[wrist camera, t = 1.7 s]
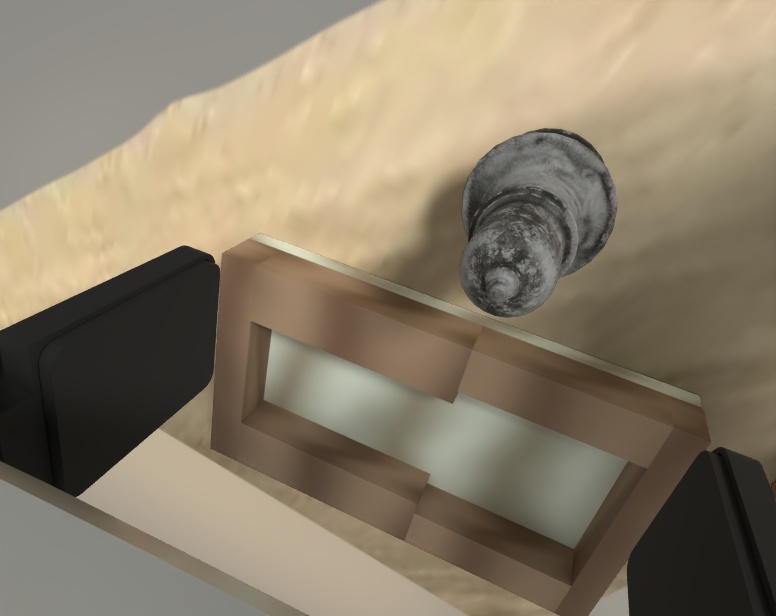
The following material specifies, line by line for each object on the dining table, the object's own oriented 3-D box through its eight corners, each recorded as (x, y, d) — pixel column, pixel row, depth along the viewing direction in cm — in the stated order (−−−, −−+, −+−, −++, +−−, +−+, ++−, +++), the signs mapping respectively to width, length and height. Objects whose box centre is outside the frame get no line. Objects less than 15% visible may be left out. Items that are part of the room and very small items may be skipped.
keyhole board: (699, 395, 25) (710, 441, 22) (583, 572, 32) (581, 625, 29) (259, 233, 30) (222, 253, 27) (242, 416, 37) (210, 448, 34)
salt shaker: (646, 159, 22) (674, 256, 12) (569, 274, 25) (540, 428, 15) (518, 96, 23) (443, 138, 13) (458, 216, 26) (360, 326, 16)
